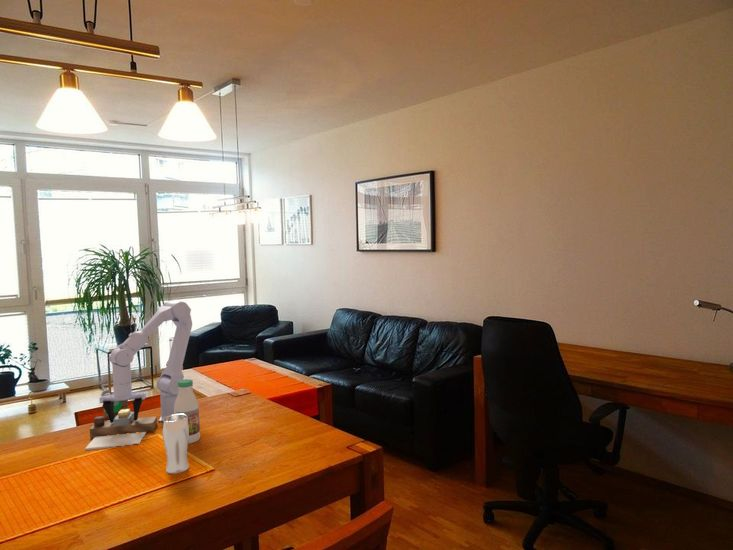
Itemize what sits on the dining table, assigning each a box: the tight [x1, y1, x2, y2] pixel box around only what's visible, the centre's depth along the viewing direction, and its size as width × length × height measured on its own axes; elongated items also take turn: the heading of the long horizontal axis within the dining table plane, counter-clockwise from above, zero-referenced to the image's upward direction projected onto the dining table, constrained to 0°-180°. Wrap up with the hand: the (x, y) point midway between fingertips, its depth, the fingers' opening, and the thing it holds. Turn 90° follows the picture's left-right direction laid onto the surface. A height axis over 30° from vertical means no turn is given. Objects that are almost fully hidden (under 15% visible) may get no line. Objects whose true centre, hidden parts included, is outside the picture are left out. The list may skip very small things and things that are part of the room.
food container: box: [100, 389, 129, 421], centre depth 183 cm, size 12×6×10 cm, turn 62°
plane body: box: [89, 415, 158, 438], centre depth 170 cm, size 20×7×6 cm, turn 103°
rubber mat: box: [84, 432, 147, 451], centre depth 161 cm, size 16×10×1 cm, turn 103°
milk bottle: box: [174, 378, 201, 445], centre depth 160 cm, size 8×8×20 cm
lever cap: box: [113, 408, 134, 427], centre depth 170 cm, size 5×7×4 cm
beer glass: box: [162, 414, 190, 475], centre depth 138 cm, size 7×7×15 cm
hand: (124, 420), depth 170 cm, fingers open, 7 cm apart
